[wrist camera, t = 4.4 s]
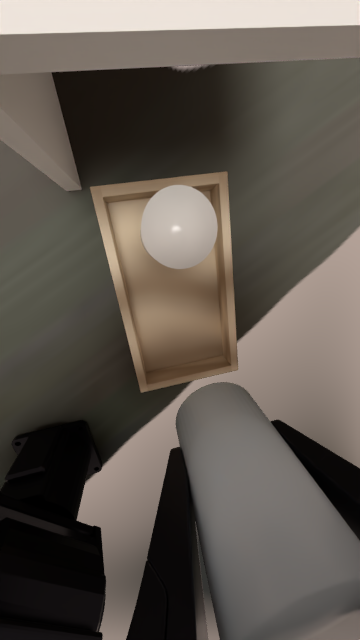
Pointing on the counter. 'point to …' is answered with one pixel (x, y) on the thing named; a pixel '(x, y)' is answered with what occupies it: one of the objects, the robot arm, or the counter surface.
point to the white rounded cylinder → (178, 227)
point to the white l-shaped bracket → (144, 52)
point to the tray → (170, 287)
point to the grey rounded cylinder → (265, 526)
